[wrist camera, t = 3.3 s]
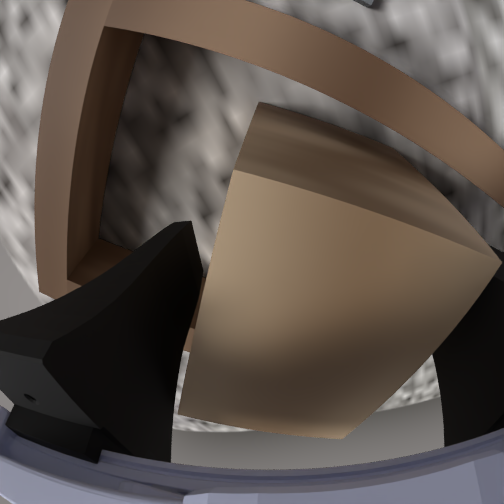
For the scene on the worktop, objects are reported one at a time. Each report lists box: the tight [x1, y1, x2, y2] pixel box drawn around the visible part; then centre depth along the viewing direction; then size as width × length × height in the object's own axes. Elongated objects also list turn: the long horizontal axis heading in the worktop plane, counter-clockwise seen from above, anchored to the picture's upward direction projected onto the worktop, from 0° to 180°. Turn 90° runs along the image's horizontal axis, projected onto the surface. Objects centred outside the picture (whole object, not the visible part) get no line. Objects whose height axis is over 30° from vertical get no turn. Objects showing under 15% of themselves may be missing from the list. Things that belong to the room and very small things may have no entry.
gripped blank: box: [178, 102, 502, 439], centre depth 9 cm, size 5×7×7 cm
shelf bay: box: [35, 0, 504, 352], centre depth 11 cm, size 16×12×3 cm
